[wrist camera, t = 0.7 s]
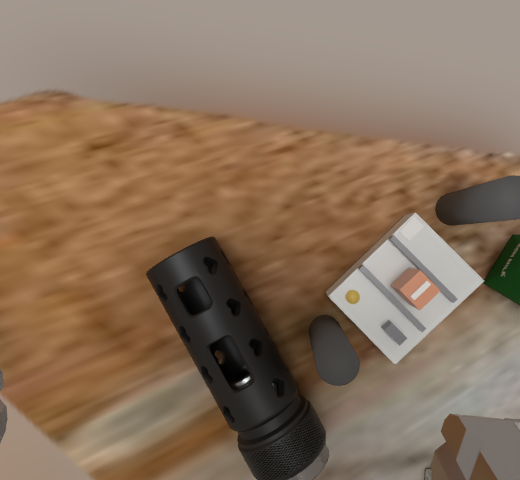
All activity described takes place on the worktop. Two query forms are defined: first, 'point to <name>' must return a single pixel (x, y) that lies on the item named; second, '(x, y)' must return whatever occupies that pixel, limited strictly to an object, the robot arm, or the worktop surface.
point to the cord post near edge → (482, 203)
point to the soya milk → (507, 271)
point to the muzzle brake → (240, 364)
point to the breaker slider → (415, 288)
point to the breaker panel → (388, 300)
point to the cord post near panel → (332, 351)
